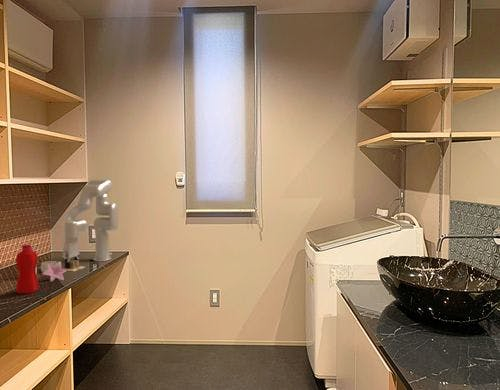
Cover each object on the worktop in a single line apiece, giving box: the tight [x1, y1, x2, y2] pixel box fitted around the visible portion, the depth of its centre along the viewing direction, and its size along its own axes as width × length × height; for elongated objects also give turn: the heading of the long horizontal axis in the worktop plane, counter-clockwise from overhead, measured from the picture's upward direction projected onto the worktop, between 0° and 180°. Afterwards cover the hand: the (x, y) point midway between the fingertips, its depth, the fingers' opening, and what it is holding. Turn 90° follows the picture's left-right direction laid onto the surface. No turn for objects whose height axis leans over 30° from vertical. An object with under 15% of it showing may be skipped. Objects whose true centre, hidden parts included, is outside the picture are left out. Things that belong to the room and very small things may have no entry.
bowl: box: [40, 260, 58, 273], centre depth 257 cm, size 9×9×6 cm
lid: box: [61, 259, 86, 272], centre depth 260 cm, size 12×12×5 cm
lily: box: [42, 261, 68, 282], centre depth 237 cm, size 12×12×10 cm
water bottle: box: [15, 244, 39, 295], centre depth 211 cm, size 9×11×25 cm
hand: (71, 266), depth 260 cm, fingers open, 7 cm apart
